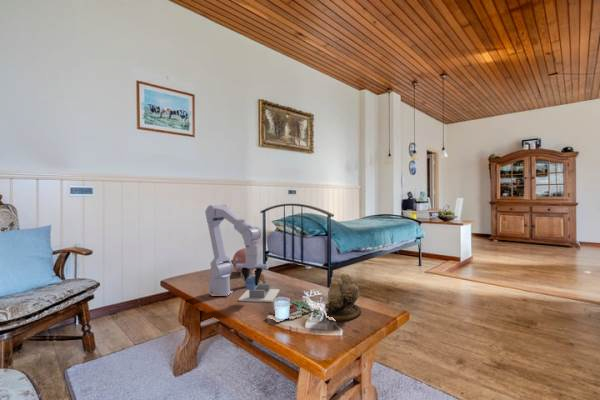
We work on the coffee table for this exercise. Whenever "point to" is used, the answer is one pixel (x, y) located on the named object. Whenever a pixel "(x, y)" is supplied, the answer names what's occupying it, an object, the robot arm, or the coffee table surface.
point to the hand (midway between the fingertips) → (252, 284)
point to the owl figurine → (343, 299)
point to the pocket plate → (260, 294)
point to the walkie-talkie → (292, 311)
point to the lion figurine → (254, 274)
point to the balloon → (239, 259)
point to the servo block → (250, 283)
